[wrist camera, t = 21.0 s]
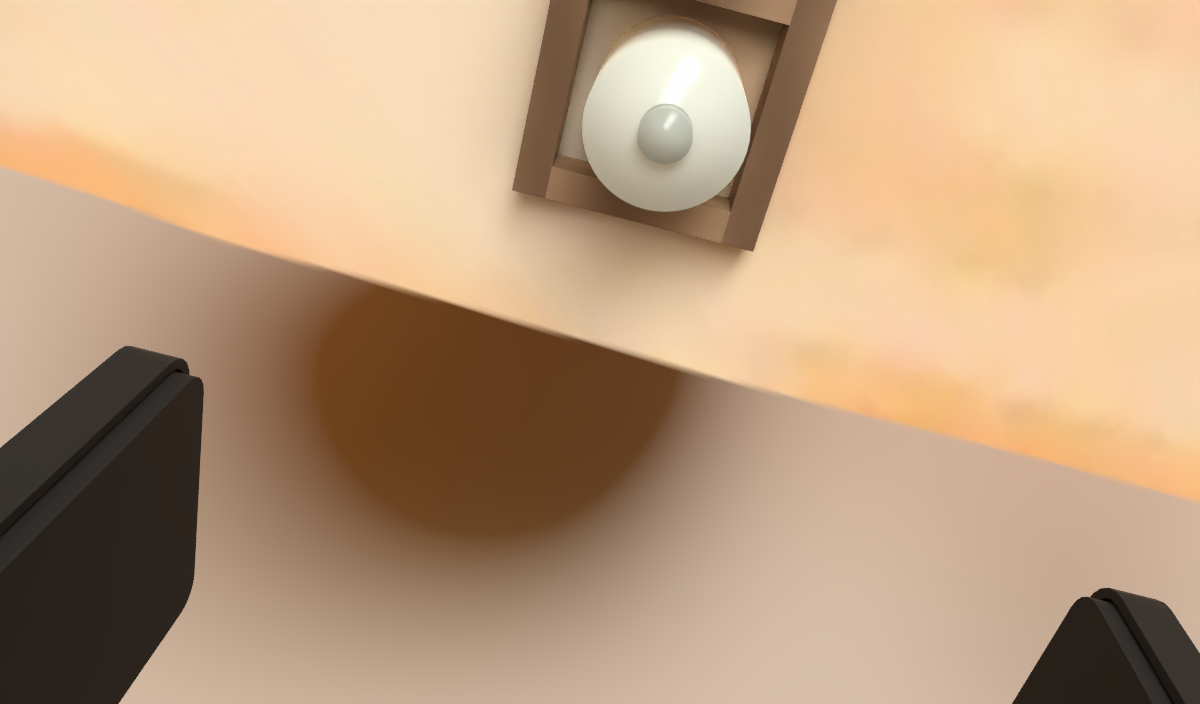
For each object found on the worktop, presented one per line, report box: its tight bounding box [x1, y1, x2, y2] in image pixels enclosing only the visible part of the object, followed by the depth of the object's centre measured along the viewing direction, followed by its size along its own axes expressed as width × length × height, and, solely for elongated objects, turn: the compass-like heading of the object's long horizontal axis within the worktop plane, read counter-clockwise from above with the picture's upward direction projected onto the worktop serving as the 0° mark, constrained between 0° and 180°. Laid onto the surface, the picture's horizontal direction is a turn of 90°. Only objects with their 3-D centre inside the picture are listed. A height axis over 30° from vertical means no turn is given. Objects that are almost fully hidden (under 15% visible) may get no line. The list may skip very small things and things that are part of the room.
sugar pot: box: [582, 16, 751, 212], centre depth 31 cm, size 5×5×7 cm
